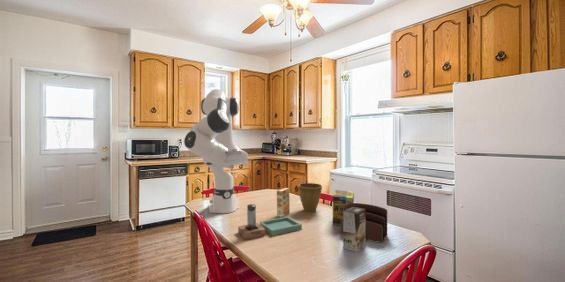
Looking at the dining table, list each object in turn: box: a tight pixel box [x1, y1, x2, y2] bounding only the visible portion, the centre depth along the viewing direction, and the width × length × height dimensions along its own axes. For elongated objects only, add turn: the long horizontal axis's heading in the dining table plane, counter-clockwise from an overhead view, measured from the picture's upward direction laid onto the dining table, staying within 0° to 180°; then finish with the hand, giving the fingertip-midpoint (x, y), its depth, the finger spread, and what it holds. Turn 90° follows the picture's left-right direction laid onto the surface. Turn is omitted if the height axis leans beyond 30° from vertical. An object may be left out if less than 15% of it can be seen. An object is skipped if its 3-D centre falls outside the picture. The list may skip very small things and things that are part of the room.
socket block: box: [237, 222, 266, 240], centre depth 126 cm, size 10×10×3 cm
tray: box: [259, 216, 303, 237], centre depth 134 cm, size 14×17×2 cm
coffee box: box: [342, 207, 366, 252], centre depth 112 cm, size 9×6×16 cm
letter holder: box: [339, 202, 388, 244], centre depth 125 cm, size 10×20×14 cm, turn 57°
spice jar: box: [246, 203, 257, 230], centre depth 126 cm, size 4×4×14 cm
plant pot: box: [297, 182, 323, 213], centre depth 164 cm, size 15×15×16 cm
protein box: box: [332, 190, 355, 226], centre depth 143 cm, size 10×15×16 cm
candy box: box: [276, 187, 291, 218], centre depth 155 cm, size 9×4×15 cm, turn 150°
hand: (239, 165), depth 125 cm, fingers open, 8 cm apart
